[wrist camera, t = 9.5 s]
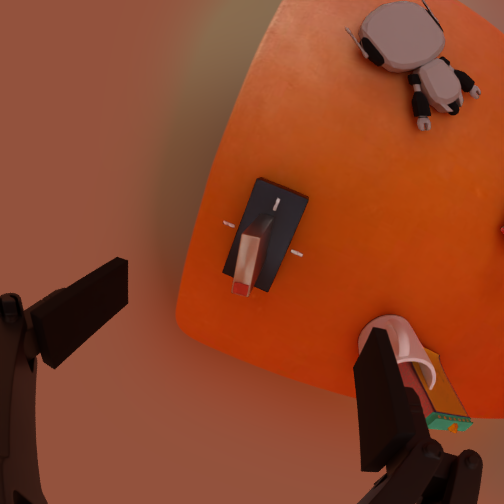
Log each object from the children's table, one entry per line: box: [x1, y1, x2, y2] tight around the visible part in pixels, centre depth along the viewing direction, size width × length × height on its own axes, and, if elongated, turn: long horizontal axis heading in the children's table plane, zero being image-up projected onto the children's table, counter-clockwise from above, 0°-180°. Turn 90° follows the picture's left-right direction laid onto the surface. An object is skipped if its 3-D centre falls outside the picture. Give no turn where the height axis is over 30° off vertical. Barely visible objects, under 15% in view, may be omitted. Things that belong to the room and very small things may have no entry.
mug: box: [358, 315, 436, 390], centre depth 31 cm, size 11×9×10 cm
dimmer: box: [222, 177, 309, 292], centre depth 34 cm, size 12×10×3 cm
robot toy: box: [345, 0, 481, 131], centre depth 23 cm, size 12×4×15 cm
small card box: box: [231, 214, 274, 297], centre depth 29 cm, size 6×2×9 cm, turn 170°
